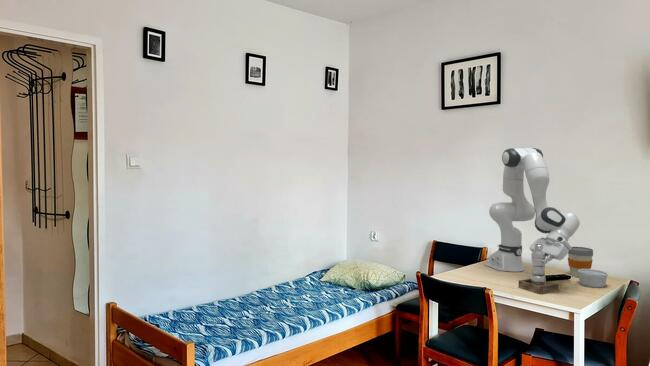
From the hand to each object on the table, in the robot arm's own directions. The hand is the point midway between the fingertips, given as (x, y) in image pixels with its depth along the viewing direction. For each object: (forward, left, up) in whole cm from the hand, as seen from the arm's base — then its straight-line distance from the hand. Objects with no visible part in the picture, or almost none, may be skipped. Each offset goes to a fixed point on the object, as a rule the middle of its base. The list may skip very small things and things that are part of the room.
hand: (538, 261), depth 229 cm
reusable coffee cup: (-9, +44, -14) cm, 47 cm away
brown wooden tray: (0, +1, -14) cm, 14 cm away
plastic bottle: (0, 0, -12) cm, 12 cm away
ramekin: (+6, +33, -14) cm, 36 cm away
